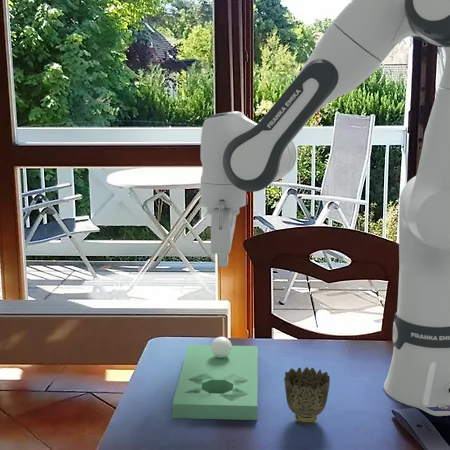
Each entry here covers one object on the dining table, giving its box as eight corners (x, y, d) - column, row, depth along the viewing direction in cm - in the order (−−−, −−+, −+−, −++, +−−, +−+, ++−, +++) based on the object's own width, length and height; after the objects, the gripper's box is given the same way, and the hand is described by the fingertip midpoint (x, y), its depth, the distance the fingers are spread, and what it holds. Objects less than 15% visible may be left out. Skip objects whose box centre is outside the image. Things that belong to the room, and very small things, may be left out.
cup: (327, 434, 108) (329, 387, 106) (280, 430, 109) (281, 383, 107) (329, 412, 115) (331, 368, 113) (286, 408, 116) (287, 364, 115)
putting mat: (257, 357, 138) (257, 346, 137) (257, 420, 112) (257, 406, 112) (188, 356, 138) (188, 344, 138) (172, 417, 113) (172, 403, 112)
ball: (232, 353, 134) (232, 333, 133) (231, 361, 130) (231, 341, 129) (211, 352, 134) (211, 333, 133) (210, 361, 130) (210, 341, 129)
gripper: (237, 205, 122) (237, 280, 125) (241, 188, 142) (240, 252, 145) (202, 205, 122) (203, 279, 125) (210, 188, 142) (210, 252, 145)
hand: (223, 265), depth 135 cm, fingers closed
